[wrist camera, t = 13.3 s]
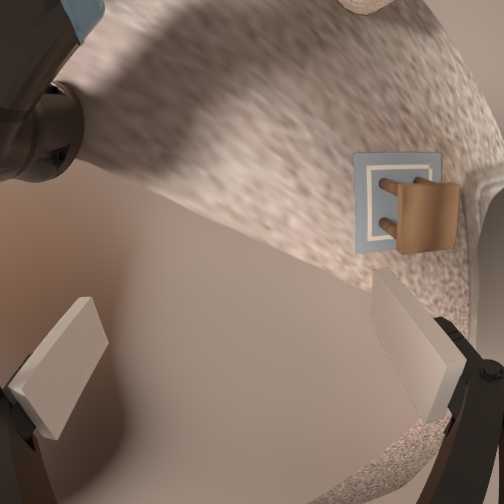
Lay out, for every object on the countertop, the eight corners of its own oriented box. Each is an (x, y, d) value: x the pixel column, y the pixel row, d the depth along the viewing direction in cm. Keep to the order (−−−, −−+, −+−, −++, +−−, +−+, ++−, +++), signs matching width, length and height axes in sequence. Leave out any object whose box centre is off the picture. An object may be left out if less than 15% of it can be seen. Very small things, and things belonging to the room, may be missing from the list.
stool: (375, 231, 42) (402, 254, 34) (375, 175, 39) (404, 186, 31) (423, 227, 42) (454, 248, 34) (424, 173, 39) (459, 185, 31)
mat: (355, 252, 44) (356, 253, 43) (353, 153, 39) (354, 153, 38) (436, 243, 43) (437, 244, 43) (439, 152, 38) (441, 153, 38)
